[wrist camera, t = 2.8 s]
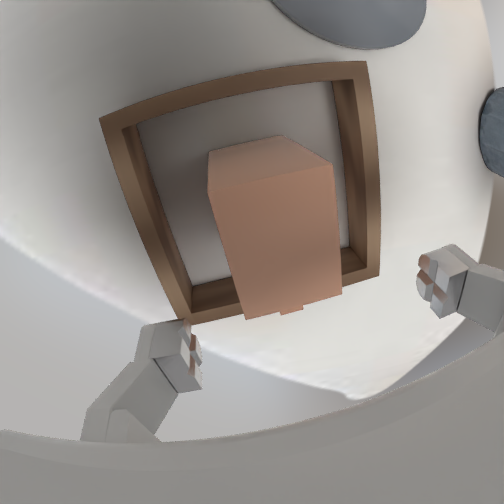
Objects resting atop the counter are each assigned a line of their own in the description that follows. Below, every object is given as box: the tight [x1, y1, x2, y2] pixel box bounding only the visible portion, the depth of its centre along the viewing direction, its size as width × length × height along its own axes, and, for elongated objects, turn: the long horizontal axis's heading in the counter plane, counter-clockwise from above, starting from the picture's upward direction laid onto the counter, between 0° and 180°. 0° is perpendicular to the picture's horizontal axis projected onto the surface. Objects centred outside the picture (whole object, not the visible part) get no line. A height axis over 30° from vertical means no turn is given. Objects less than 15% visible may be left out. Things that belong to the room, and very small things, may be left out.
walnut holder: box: [99, 61, 381, 325], centre depth 17 cm, size 14×14×3 cm
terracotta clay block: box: [207, 135, 342, 320], centre depth 15 cm, size 8×4×8 cm, turn 12°
